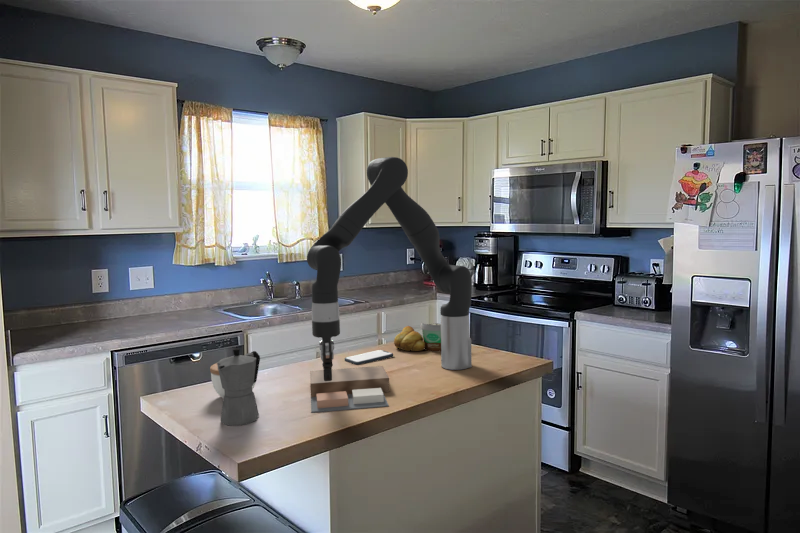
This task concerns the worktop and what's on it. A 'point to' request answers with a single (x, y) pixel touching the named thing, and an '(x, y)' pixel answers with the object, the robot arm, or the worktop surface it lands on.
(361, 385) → the walnut board
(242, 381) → the coffeepot
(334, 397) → the tile terracotta
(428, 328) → the food container
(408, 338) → the bread roll
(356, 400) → the tile cream
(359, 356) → the phone case
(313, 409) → the rubber mat
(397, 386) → the worktop surface
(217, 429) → the worktop surface
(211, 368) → the lidded bowl
